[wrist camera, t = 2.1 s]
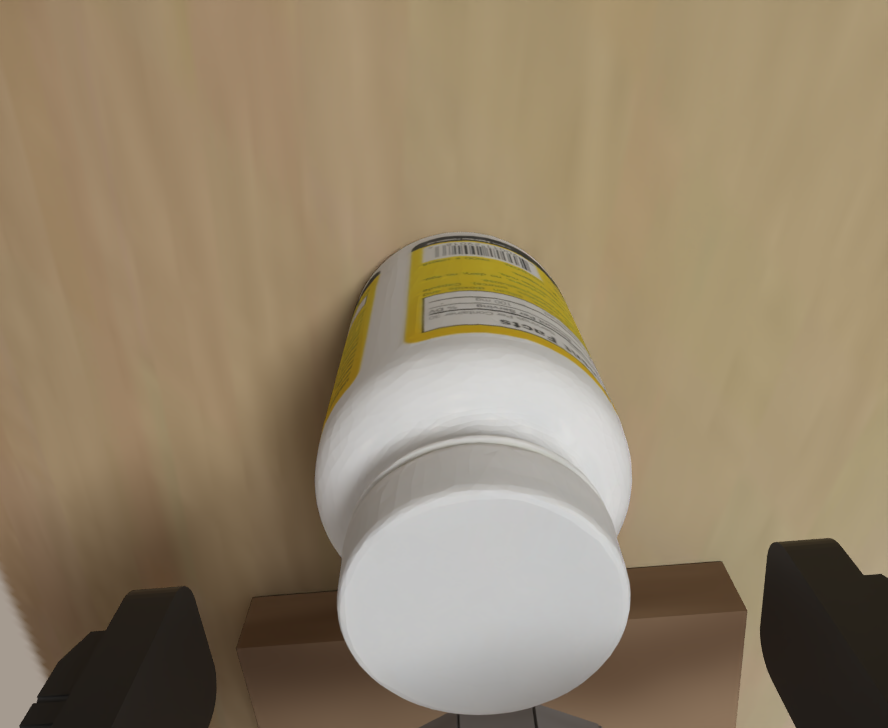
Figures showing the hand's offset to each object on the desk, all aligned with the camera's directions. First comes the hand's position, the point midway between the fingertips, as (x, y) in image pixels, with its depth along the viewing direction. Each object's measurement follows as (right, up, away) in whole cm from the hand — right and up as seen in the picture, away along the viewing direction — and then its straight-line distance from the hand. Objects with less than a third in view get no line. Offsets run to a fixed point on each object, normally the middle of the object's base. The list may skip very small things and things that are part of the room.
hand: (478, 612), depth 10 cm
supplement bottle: (0, +4, +9) cm, 10 cm away
